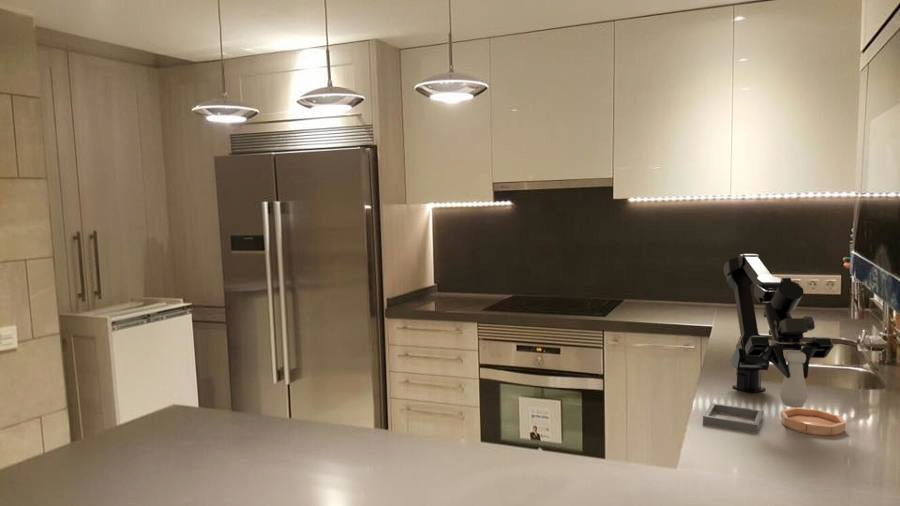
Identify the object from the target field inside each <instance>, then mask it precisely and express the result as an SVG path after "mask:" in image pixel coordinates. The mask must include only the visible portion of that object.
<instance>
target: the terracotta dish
mask: <svg viewBox="0 0 900 506" xmlns="http://www.w3.org/2000/svg"><path fill="white" fill-rule="evenodd" d="M779 416H780V418H781V420H780V421H781V424H782V425H783V426H784V427H786V428H788V429H791V430H793V431H796V432H799V433H802V434H803V433H804V434H808V435H814V436H826V437H827V436H830V437H831V436H838V435H841V434H843V433H844V430H846V425H847V423H846V421H844V419H842V417H841V416H840V415H837V414H834V413H830V412H827V411H824V410H821V409H815V408H803V407H799V408H794V407H790V408H788V409H787V408H786V409H782V410H780V415H779Z"/></svg>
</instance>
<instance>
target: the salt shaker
mask: <svg viewBox="0 0 900 506" xmlns="http://www.w3.org/2000/svg"><path fill="white" fill-rule="evenodd" d="M784 358H785V360H786V362H787V366H788V369H789V373H790V377H789V378H787V377H786V376H785V375H784V374H783V375H784V376H783V379H782V382H781V388H780V391H779V396H780V399H781V402H782V404H783V405H785V406H786V407H790V408H803V407H804V405H805V403H806V402H807V400H808V390H807V385H806V379H804V372H803V365H802V363H805V361H806V355H805V354H804V353H802V352H799V351H787V352H786V353H785V355H784Z"/></svg>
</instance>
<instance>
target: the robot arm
mask: <svg viewBox="0 0 900 506" xmlns="http://www.w3.org/2000/svg"><path fill="white" fill-rule="evenodd" d="M723 274H724V276H725V278H726V283H727V284H728V286H729V287H730V288H732V290H733V292H734V298H735V304H736V305H735V306H736V313H737V319H738V326H739V327H738V328H739V333H740V338H739V340H738V341H737V342H736V345H735V348H736V349H735V351H734V353H733V355H732V357H731V360H730V361H731V366H732V367H733V368H734V369H736V370H737V373H736V384H734V385H732V387H731V388H732V389H737V390H738V391H743V392H747V393H749V394H750V393H751V394H754V393H758V392H763V391H766V388H765V387H762V371H769V367H770V363H771V364H773V365H774V366H775V367H776V368H777V369H778V370H779V371H780V373H782V375H785V376H786V377H787V378H789V377H790V373H789V369H788V366H787V364H788V362H787V360H786V359H785V355H784V354H785V353H784V351H787V352H788V351H799V352H802V353H804V354H805V355H806V361H805V363H802V365H803V372H804V379H805V380H806V379H807V378H808V375H809V365H810V361H811V359H825V358H827V357H828V355H829V354H830V352H831V350H833V348H834V347H835V346H834V343H833V341H832V339H831V338H830V337H828V336H827V337H826V336H823V337H821V336H812V337H811V339H810V341H809V342H805V341H800V340H803V339H804V334H806V333H808V332H809V331H813V330H814V329H815V327H816V326H815V321H814V319H813V317H812V315H811V316H810V315H809V316H806V315H805V316H804V317H799V318H797V317H796V318H795V317H794V318H793V316H792V313H791V312H793V311H795V310H796V307H797V306H798V304H799V302H800V301H801V299H802V297H803V295H804V288H803V287H801V285H800V284H798V283H797V282H796V281H792V278H791V277H782V278H780V277H777V276H774V275H772V274H771V272H770V271H769V270H768V268H767V267H766V266H765V265H764V263H763V262H762V261H761V257H760V255H759V254H757V253H742V254H739V255H738V256H737V257H733V258H731V259H729V260H727V261H726V262H725V264H724V265H723ZM753 285H754V287H753V292H752V286H753ZM753 294H754V297H753ZM754 298H755V299H756V300H757V302H758V303H767V304H765V307H764V308H763V310H764V311H763V318H765V319H766V321H767V324H768V328H769V330H768V336H771V339H769V337H768V336H766V335H760V332H759V329H758V322H757V317H756V311H755V310H756V309H755V304H754Z"/></svg>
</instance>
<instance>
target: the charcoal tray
mask: <svg viewBox="0 0 900 506" xmlns="http://www.w3.org/2000/svg"><path fill="white" fill-rule="evenodd" d="M715 413H720V414H725V415H730V416H737V417H744V418H749V419H750V418H751V419H754V421H753V422H749V421H741V420H737V419H732V418H731V419H730V418H725V417H721V416H720V417H719V416H714V414H715ZM763 419H764V410H760V409H755V408H749V407H748V408H747V407H741V406H734V405H729V404H727V405H726V404H722V403H716V402H711V403H710V405H709V406H708V408H707V409H706V410H705V413H704V414H703V416H702V425H707V426H712V427H717V428H718V427H719V428H724V429H729V430H736V431H741V432H747V433H751V434H752V433H753V434H758V433H759V430H760V428H761V425H762V422H763Z"/></svg>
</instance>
